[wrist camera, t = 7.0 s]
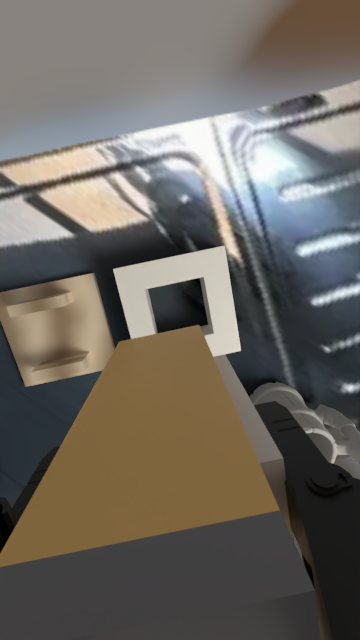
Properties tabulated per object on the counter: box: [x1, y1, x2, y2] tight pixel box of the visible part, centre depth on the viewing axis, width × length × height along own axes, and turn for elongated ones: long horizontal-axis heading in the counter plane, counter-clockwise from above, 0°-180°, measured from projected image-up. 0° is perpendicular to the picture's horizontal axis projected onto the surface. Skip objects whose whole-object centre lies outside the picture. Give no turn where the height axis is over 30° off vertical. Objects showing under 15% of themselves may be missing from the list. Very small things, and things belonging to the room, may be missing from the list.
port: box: [113, 246, 241, 357], centre depth 32 cm, size 12×12×4 cm
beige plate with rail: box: [0, 273, 115, 387], centre depth 31 cm, size 12×12×4 cm
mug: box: [249, 382, 360, 464], centre depth 32 cm, size 8×12×12 cm, turn 91°
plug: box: [0, 325, 321, 640], centre depth 9 cm, size 4×4×12 cm
